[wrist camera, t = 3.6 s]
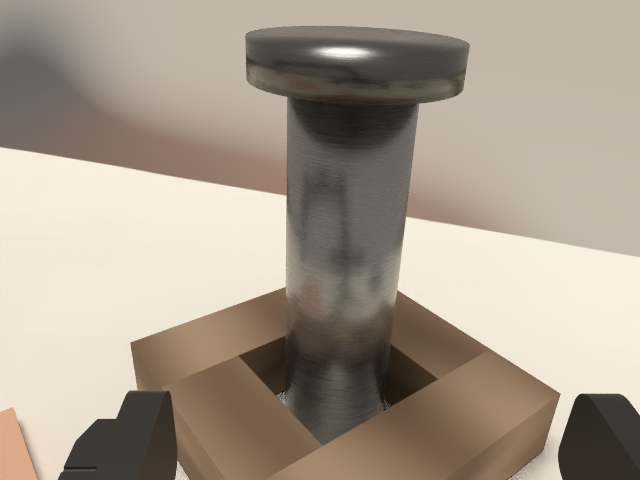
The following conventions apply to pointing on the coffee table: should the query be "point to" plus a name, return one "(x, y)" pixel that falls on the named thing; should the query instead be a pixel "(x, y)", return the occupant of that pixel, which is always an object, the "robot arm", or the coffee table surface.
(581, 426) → the robot arm
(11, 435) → the pad
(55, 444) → the coffee table surface
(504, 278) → the coffee table surface
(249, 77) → the peg
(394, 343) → the collar
